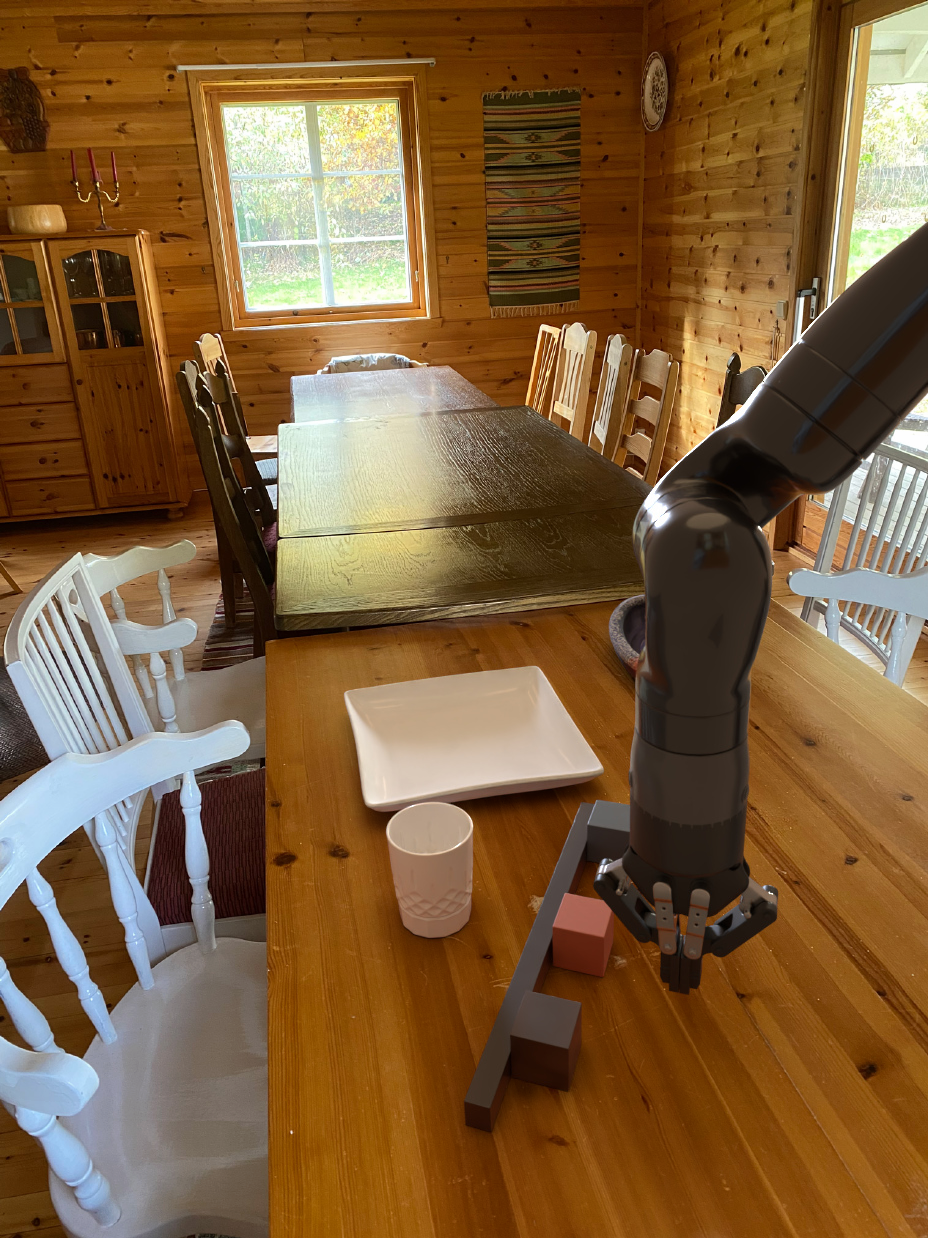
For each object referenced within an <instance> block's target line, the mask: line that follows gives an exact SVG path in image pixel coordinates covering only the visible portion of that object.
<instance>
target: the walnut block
mask: <svg viewBox="0 0 928 1238" xmlns="http://www.w3.org/2000/svg"><path fill="white" fill-rule="evenodd" d="M582 1009H583V1004H582V1002H579V1001H574V1000H570V999H566V998H562V997H557V996H553V995H550V994H549V995H548V994H544V993H541V992H540V993H536V992H531V991H527V990H526V991H525V994H524V997H523V1000H522V1002H521V1005H520V1008H519V1011H518V1014H517V1016H516V1019H515V1022H514V1025H513V1028H512V1030H511V1033H510V1050H511V1077H510V1078H513V1079H517V1080H521V1081H525V1082H528V1083H531V1084H532V1083H533V1084H536V1085H540V1086H544V1087H548V1088H551V1089H556V1090H560V1091H563V1092H567V1093H569V1092H570V1089H571V1086H572V1085H571V1084H572V1081H573V1077H574V1074H575V1070H576V1066H577V1062H578V1058H579V1056H580V1051H581V1047H582V1025H583V1024H582V1020H583V1016H582V1014H583V1013H582V1012H583V1011H582Z"/></svg>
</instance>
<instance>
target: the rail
mask: <svg viewBox="0 0 928 1238" xmlns="http://www.w3.org/2000/svg"><path fill="white" fill-rule="evenodd" d="M594 805H595V803H592V802H591V803H590V802H585V801H584V802H583V801H581V802H580V805H579V808H578V810H577V812H576V815H575V817H574V820H573V823H572V825H571V828H570V829H569V833H568V835H567V838H566V840H565V843H564V845H563V848H562V850H561V853H560V855H559V859H558V861H557V863H556V866H555V868H554V871H553V873H552V876H551V878H550V881H549V883H548V886H547V889H546V891H545V893H544V896H543V898H542V902H541V904H540V907H539V908H538V911H537V914H536V917H535V919H534V922H533V925H532V927H531V929H530V931H529V934H528V937H527V940H526V942H525V945H524V947H523V950H522V952H521V954H520V958H519V960H518V962H517V965H516V968H515V970H514V972H513V975H512V978H511V981H510V982H509V985H508V988H507V990H506V992H505V995H504V998H503V1000H502V1003H501V1005H500V1008H499V1011H498V1013H497V1015H496V1018H495V1021H494V1023H493V1026H492V1027H491V1028H492V1029H491V1031H490V1033H489V1035H488V1039H487V1041H486V1044H485V1046H484V1049H483V1051H482V1054H481V1056H480V1059H479V1061H478V1064H477V1066H476V1069H475V1071H474V1074H473V1076H472V1079H471V1081H470V1084H469V1087H468V1089H467V1092H466V1094H465V1097H464V1100H463V1108H464V1122H465V1123H464V1124H465V1126H468V1127H472V1128H476V1129H479V1130H482V1131H486V1132H489V1133H492V1131H493V1129H494V1126H495V1122H496V1120H497V1117H498V1114H499V1111H500V1108H501V1105H502V1103H503V1100H504V1097H505V1094H506V1091H507V1089H508V1085H509V1083H510V1079H511V1078H512V1077H511V1050H510V1033H511V1030H512V1028H513V1025H514V1022H515V1019H516V1016H517V1014H518V1011H519V1008H520V1005H521V1002H522V1000H523V997H524V994H525V991H526V990H527V991H531V992H536V993H540V994H541V992H542V988H543V986H544V983H545V980H546V978H547V974H548V972H549V969H550V966H551V963H552V961H553V924H554V921H555V919H556V916H557V913H558V910H559V908H560V905H561V902H562V900H563V897H564V894H565V893H568V894H573V895H576V892H577V889H578V886H579V883H580V881H581V877H582V875H583V872H584V870H585V866H586V864H587V862H588V861H587V824H588V821H589V819H590V816H591V813H592V811H593V808H594Z"/></svg>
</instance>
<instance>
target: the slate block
mask: <svg viewBox="0 0 928 1238" xmlns="http://www.w3.org/2000/svg"><path fill="white" fill-rule="evenodd" d="M594 804H595V805H594V808H593V811H592V813H591V816H590V819H589V821H588V824H587V861H586V862H593V863H598V864H600V862H601V861H602V860H603V859H610V860H612V861H616V860H618V859H621V858H623V856H624V851H625V848H626V846H627V845H628V844H629V842H630V804H626V803H621V802H615V801H608V800H602V799H596V800H595V803H594Z"/></svg>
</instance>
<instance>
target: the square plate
mask: <svg viewBox="0 0 928 1238" xmlns="http://www.w3.org/2000/svg"><path fill="white" fill-rule="evenodd" d="M343 700H344V705H345V709H346V711H347V715H348V718H349V721H350V726H351V729H352V734H353V737H354V738H353V739H354V742H355V749H356V754H357V761H358V762H357V763H358V770H359V776H360V777H359V778H360V786H361V787H360V788H361V793H362V799H363V802H364V805H365V806H366V807H367V808H369V809H372V810H373V811H377V812H383V813H385V812H386V813H388V812H396V811H401V810H403V809H405V808H407V807H410V806H413V805H416V804H420V803H428V802H440V803H447V804H451V803H457V802H463V801H469V800H476V799H481V798H488V797H495V796H496V797H497V796H503V795H511V794H520V793H527V792H534V791H536V792H537V791H542V790H549V789H557V788H561V787H562V788H563V787H568V786H573V785H578V784H583V783H587V782H589V781H592V780H594V779H596V778H598V777H601V776H602V775H603V774H604V773H605V769H604V767H603V764H602V763H601V761H600V759H599V758H598V756H597V755H596V753H595V752H594V750H593V749H592V747H591V746H590V745H589V743H588V741H587V740H586V738H585V737H584V736H583V734H582V732H581V731H580V729H579V728H578V726H577V725H576V723H575V721H574V720H573V718H572V716H571V715H570V714H569V712H568V711H567V709H566V707H565V706H564V704H563V702H562V701H561V699H560V698H559V696H558V694H557V693H556V691H555V689H554V688H553V686H552V684H551V683H550V681H549V680H548V678H547V676H546V675H545V674H544V672H543V670H541V668H540V667H539V666H536V665H529V666H522V667H521V666H520V667H513V668H504V669H495V670H494V669H493V670H485V671H477V672H468V673H459V674H451V675H445V676H443V675H442V676H438V677H437V676H436V677H429V678H422V679H415V680H407V681H402V682H394V683H389V684H382V685H381V684H380V685H376V686H369V687H363V688H356V689H349V690H346V691H344V693H343Z"/></svg>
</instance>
